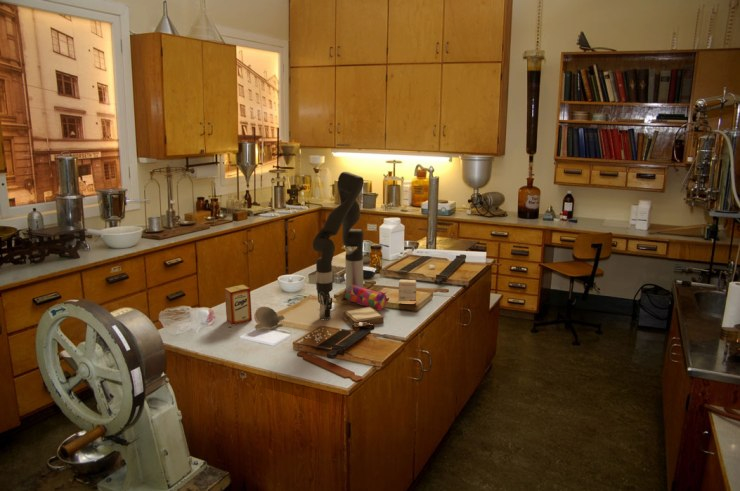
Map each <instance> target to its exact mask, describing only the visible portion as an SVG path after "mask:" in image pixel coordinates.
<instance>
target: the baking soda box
mask: <svg viewBox="0 0 740 491" xmlns="http://www.w3.org/2000/svg"><path fill="white" fill-rule="evenodd" d="M224 298H225V300H224V302H225V313H226V314H225V316H226V322H228V323H229V322H230V323H231V325H232V324H235V325H238V324H243V323H246V322H251V321H252V320H253V318H252V315H253V314H252V302H251V301H252V299H251V288H250V287H248V286H247V285H246V284H239V285H235V286H231V287H226V288H224ZM230 323H229V324H230Z"/></svg>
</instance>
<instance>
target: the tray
mask: <svg viewBox="0 0 740 491" xmlns="http://www.w3.org/2000/svg"><path fill="white" fill-rule="evenodd" d="M342 312H343V313H342V314H343V318H344V319H345V320H346V321H347V323H349V324H350V325H352V324H354V323H359V322H367V323H370V324H373V325H372V326H374V325H380V324H384V322H385V319H384V318H385V317H384V316H383V315H382V314H380V313H379V311H378V310H376V309H373V308H372V307H366V306H365V307H362V308H361V307H360V308H355V309H350V310H349V309H348V310H344V311H342ZM352 326H353V325H352Z"/></svg>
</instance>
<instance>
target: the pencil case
mask: <svg viewBox="0 0 740 491" xmlns="http://www.w3.org/2000/svg"><path fill="white" fill-rule="evenodd" d="M386 294H387V292H386V291H385V292H382V291H381V290H380V291H378V292H377V291H374V290H372V289H369V288H366V287H364V286H363V287H359V286H357V285H351V286H349V287H348V288H347V290H346V289H345V299H346V301H348V302H352V303H353V304H356V305H360V306H363V307H365V308H366V307H372V308H373V309H374V310H375V311H381V310H383V309H384V308H386V306H387V302H389V300H390V297H387V295H386Z"/></svg>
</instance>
